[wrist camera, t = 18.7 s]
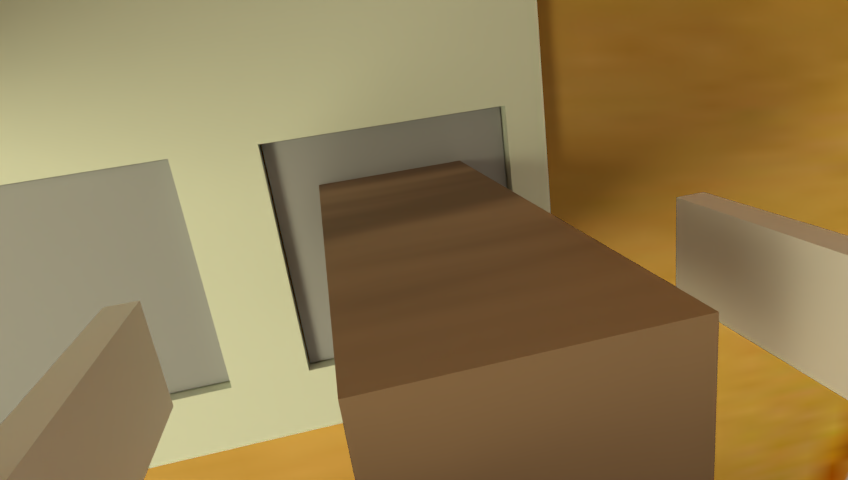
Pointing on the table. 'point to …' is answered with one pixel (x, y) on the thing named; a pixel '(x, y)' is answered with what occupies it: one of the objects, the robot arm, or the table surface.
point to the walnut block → (506, 340)
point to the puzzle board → (232, 177)
